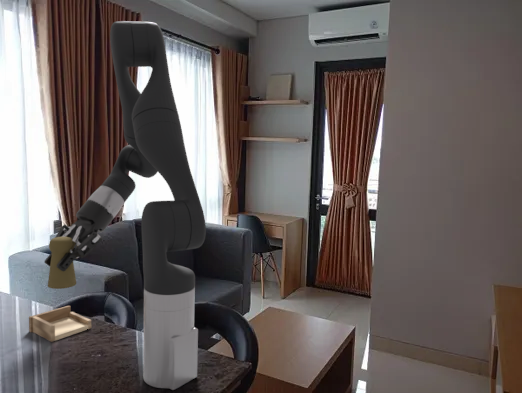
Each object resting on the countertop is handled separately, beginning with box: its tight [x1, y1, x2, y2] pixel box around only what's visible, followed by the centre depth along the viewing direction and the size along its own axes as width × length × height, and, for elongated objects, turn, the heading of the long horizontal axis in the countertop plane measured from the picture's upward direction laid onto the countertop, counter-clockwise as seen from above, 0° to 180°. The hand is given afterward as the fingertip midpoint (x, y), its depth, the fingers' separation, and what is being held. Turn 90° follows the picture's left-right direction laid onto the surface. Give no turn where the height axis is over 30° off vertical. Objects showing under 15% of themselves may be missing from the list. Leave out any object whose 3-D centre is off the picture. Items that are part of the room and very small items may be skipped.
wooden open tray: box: [28, 305, 92, 343], centre depth 100 cm, size 9×10×4 cm
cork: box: [47, 236, 77, 290], centre depth 98 cm, size 6×6×11 cm
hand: (54, 266), depth 97 cm, fingers closed on cork, 4 cm apart
